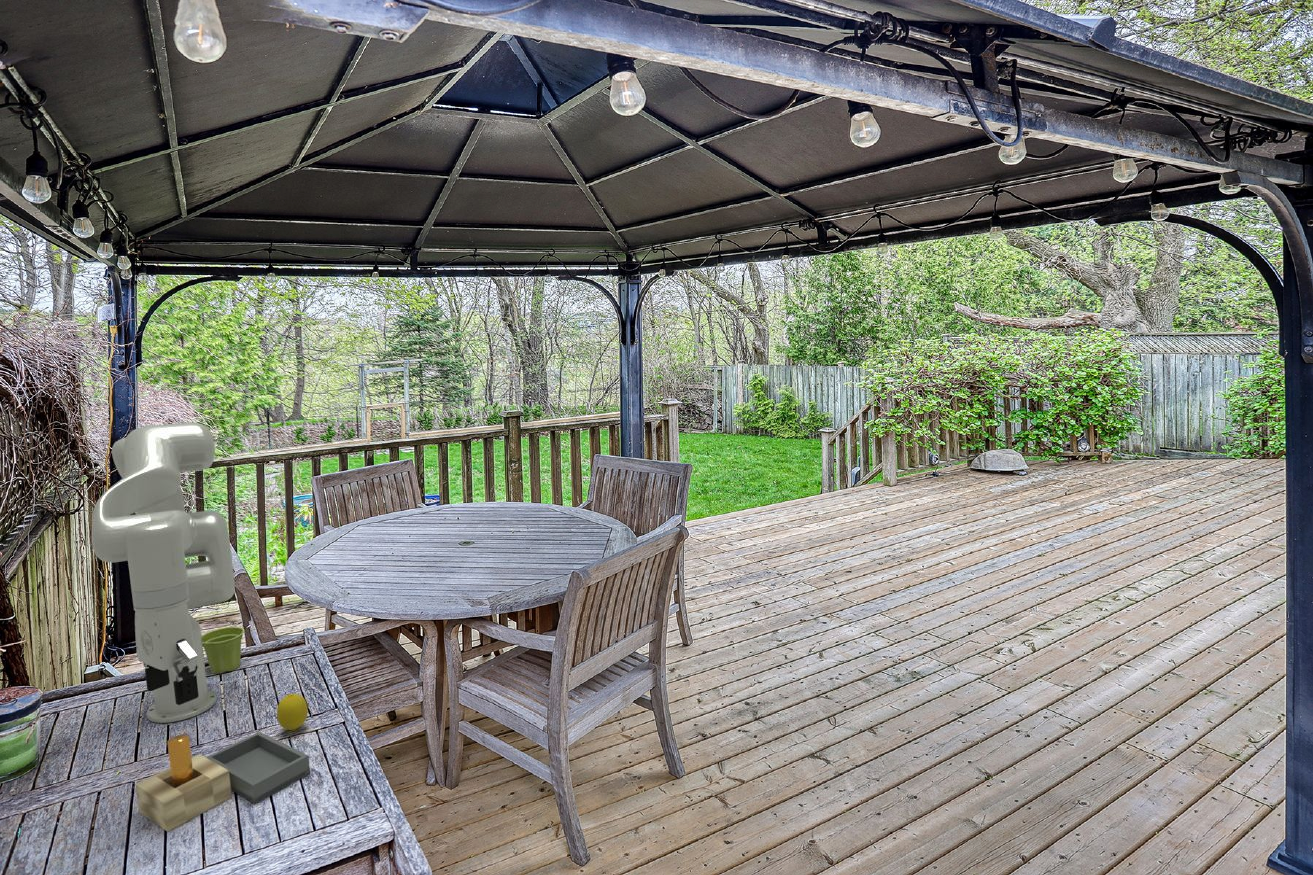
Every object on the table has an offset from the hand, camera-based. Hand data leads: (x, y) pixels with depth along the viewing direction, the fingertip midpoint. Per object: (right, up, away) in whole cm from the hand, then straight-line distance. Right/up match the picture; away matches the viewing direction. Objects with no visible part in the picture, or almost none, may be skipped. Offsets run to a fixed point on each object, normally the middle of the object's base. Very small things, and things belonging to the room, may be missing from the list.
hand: (172, 694), depth 116 cm
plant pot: (-25, -14, +54) cm, 61 cm away
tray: (+8, -19, +11) cm, 23 cm away
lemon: (+7, -17, +26) cm, 32 cm away
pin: (0, -20, +3) cm, 20 cm away
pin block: (0, -20, +3) cm, 20 cm away
